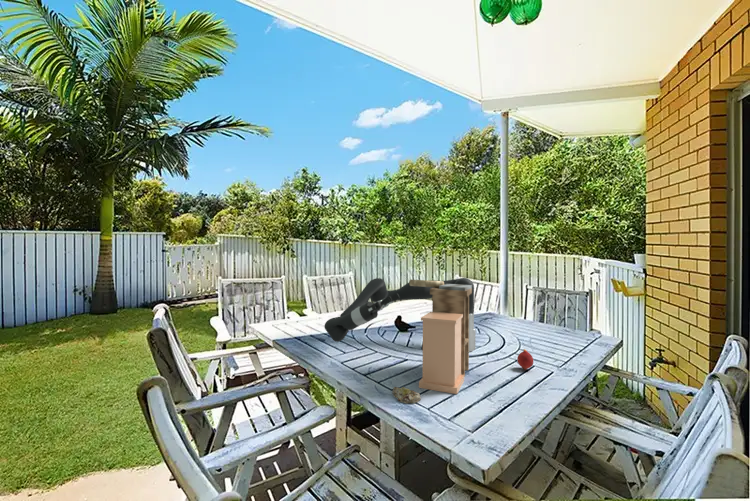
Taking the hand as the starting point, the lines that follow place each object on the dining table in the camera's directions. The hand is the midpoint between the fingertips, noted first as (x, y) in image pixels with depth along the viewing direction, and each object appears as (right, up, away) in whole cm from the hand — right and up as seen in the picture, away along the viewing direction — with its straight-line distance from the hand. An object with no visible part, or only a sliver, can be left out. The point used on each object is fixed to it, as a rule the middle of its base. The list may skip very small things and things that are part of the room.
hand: (394, 297), depth 147 cm
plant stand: (+21, -28, -9) cm, 36 cm away
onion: (+51, -28, -7) cm, 58 cm away
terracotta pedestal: (+15, -28, -22) cm, 38 cm away
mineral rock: (+2, -28, -33) cm, 43 cm away
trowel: (+17, +4, -6) cm, 18 cm away
